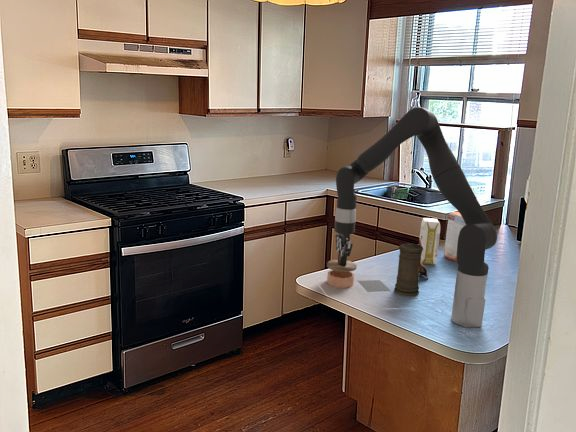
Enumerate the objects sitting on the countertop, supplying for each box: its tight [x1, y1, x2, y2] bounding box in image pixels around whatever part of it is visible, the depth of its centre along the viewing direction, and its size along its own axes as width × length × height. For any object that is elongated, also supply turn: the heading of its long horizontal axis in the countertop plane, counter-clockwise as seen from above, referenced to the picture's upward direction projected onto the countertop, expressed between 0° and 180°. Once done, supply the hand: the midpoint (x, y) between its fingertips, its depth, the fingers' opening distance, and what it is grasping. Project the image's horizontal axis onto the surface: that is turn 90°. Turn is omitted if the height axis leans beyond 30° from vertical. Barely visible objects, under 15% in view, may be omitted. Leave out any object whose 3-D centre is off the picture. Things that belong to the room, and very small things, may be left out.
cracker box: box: [443, 211, 466, 263], centre depth 237 cm, size 14×6×21 cm, turn 22°
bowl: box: [326, 269, 355, 289], centre depth 202 cm, size 10×10×4 cm
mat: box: [357, 279, 392, 293], centre depth 201 cm, size 11×9×1 cm
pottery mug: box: [419, 263, 429, 281], centre depth 214 cm, size 12×10×8 cm
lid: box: [326, 253, 358, 272], centre depth 200 cm, size 11×11×5 cm
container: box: [393, 242, 423, 297], centre depth 195 cm, size 9×9×18 cm
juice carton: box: [418, 217, 441, 266], centre depth 232 cm, size 8×9×19 cm
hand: (341, 264), depth 201 cm, fingers closed on lid, 2 cm apart
